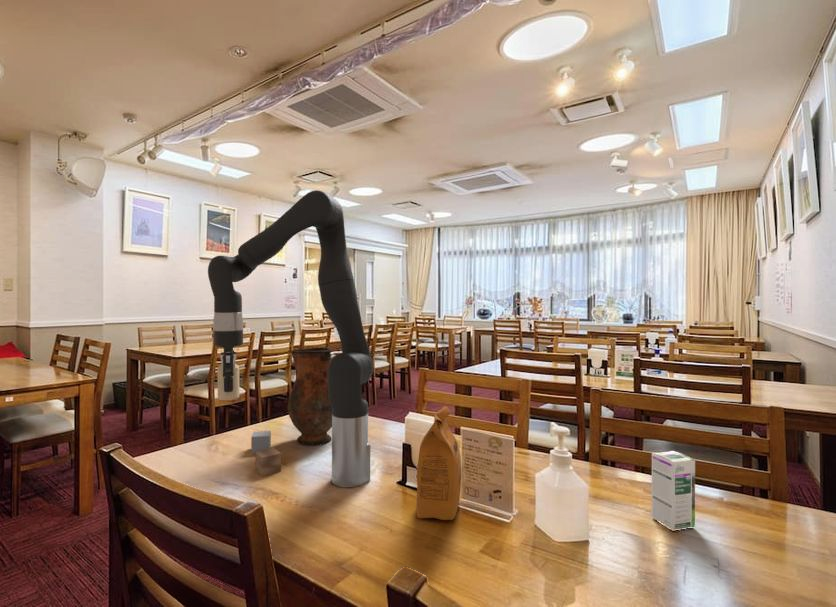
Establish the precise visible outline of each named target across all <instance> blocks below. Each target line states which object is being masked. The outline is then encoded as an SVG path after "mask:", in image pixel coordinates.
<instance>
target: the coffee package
mask: <svg viewBox="0 0 836 607" xmlns="http://www.w3.org/2000/svg"><path fill="white" fill-rule="evenodd" d="M450 415H451V410H450V409H449V407H448V406H443V407H442V408H441V409H439V410H438V411H436V412H435V413H434V418H433V419H434V420H433V424H432V425H431V427H430V428H429V429H428V431H427V432H426V433H425V434H424V436H423V438H422V441H421V443H420V447H419V452H418V460H417V469H416V487H417V488H416V507H415V509H416V510H415V511H416V517H417V518H418V519H438V520H442V521H450V520H451V521H453V520H454V519H455V518H456V516H457V512H458V509H459V504H460V498H461V486H462V459H461V451H460V447H459V444H458V440H457V439H456V437H455V435H454V434H453V432H452V431H451V429H450V426H449V424H448V421H447V417H448V416H450Z"/></svg>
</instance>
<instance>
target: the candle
mask: <svg viewBox="0 0 836 607" xmlns="http://www.w3.org/2000/svg"><path fill="white" fill-rule="evenodd" d="M225 372H231V369H226V370H225ZM233 373H234V376H233V391H232V392H224V378H223V370H222V368H221V364H220V365H219V366H218V367H217V400H220V401H232V400H237V399H239V398H240V366H239V365H238V364H237V363H235V369H234V370H233Z"/></svg>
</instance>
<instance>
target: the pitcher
mask: <svg viewBox="0 0 836 607" xmlns="http://www.w3.org/2000/svg"><path fill="white" fill-rule="evenodd" d="M331 352H332V349H331V348H330V347H329V348H328V347H312V348H311V347H310V348H303V349H292V350H290V354H291V355H292V360H293V364H294V368H295V380H294V383H293V386H292V389H291V392H290V394H289V396H288V397H289V399H288V403H287V411H288V417H289V419H290V420H291V422H292V425H293V426H294V427H295V428H296V429H297V431H299V433H300V435H299V436H298V437H297V438H296V442H297V443H299V444H300V445H303V444H305V445H304V446H321V445H320V444H322V445H326V444H328V443H330V441H331V442H332V435H331V436H330V434H328V433H329V431H330V430H332V408H331V405H330V402H329V392H328V368H329V364H330V361H331V360H332V356H335V355H337V354H340V353H341V352H334V353H331ZM327 442H328V443H327Z"/></svg>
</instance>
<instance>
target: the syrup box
mask: <svg viewBox="0 0 836 607" xmlns="http://www.w3.org/2000/svg"><path fill="white" fill-rule="evenodd" d="M695 506H696V460H695V459H694V458H692V457H690V456H688V455H686V454H684V453H681V452H678V451H674V450H670V451H662V452H652V453H651V518H652V517H653V518H655V519H656V520H658V521H660V522H661V523H663V524H665V525H666V526H668V527H669V528H671V529H673V530H675V529H682V528H688V527H694V526H695V527H696V507H695Z"/></svg>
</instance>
